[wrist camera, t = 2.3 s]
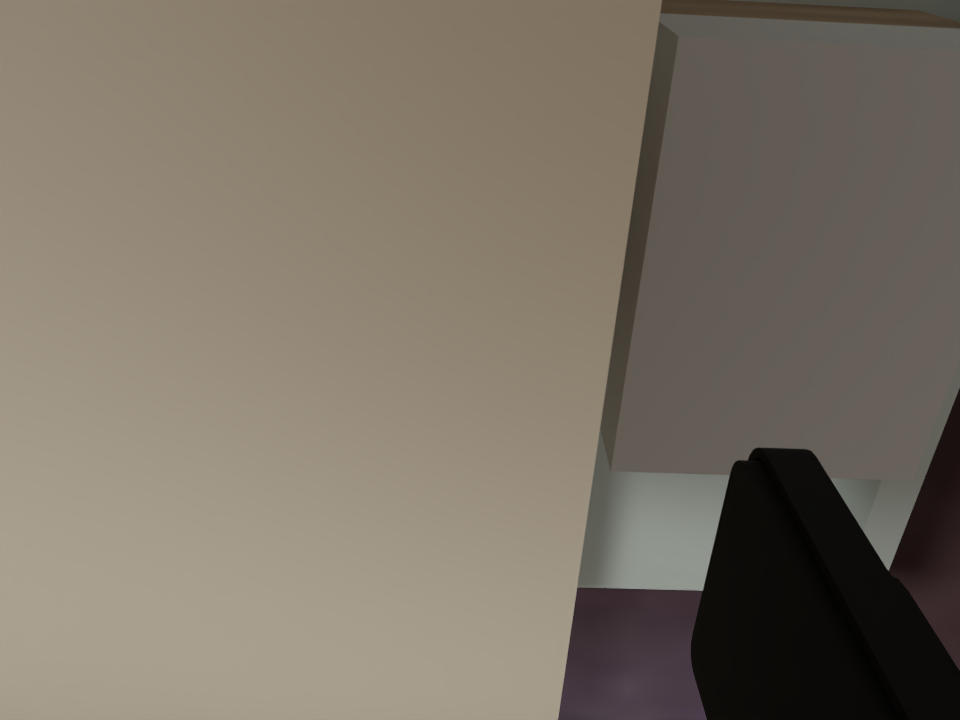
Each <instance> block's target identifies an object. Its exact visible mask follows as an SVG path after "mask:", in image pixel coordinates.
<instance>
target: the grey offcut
mask: <svg viewBox="0 0 960 720" xmlns="http://www.w3.org/2000/svg"><path fill="white" fill-rule="evenodd" d="M959 359H960V29H956V28H936V27H917V26H897V25H878V24H858V23H839V22H820V21H800V20H781V19H761V18H742V17H723V16H703V15H684V14H664V13H660V18H659V25H658V32H657V39H656V46H655V53H654V60H653V66H652V73H651V80H650V87H649V94H648V101H647V108H646V115H645V122H644V129H643V135H642V142H641V149H640V156H639V163H638V170H637V177H636V184H635V191H634V198H633V205H632V211H631V218H630V225H629V232H628V239H627V246H626V253H625V260H624V267H623V274H622V280H621V287H620V294H619V301H618V308H617V315H616V322H615V329H614V336H613V343H612V350H611V356H610V363H609V370H608V377H607V384H606V391H605V398H604V405H603V412H602V419H601V426H600V430H601V434H602V438H603V442H604V447H605V451H606V455H607V459H608V463H609V467H610V471H612V472H644V473H676V474H708V475H730V472H731V469H732V466H733V464H734V463H735V462H736V461H738V460H748V458H749V455H750V454H751V452H752V451H753V449H755V448H757V447H760V448H790V449H807V450H811V451H812V452H813V453H814V454H815V456H816V457H817V458H818V460H819V462H820V463H821V465H822V466H823V468H824V470H825V471H826V473H827V474H828V476H829V478H838V479H870V480H902V481H913V480H914V477H915V474H916V472H917V469H918V466H919V464H920V461H921V459H922V456H923V453H924V451H925V448H926V445H927V443H928V440H929V438H930V435H931V432H932V430H933V427H934V424H935V422H936V419H937V416H938V414H939V411H940V409H941V406H942V403H943V401H944V398H945V395H946V393H947V390H948V388H949V385H950V382H951V380H952V377H953V374H954V372H955V369H956V366H957V364H958V361H959Z"/></svg>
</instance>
